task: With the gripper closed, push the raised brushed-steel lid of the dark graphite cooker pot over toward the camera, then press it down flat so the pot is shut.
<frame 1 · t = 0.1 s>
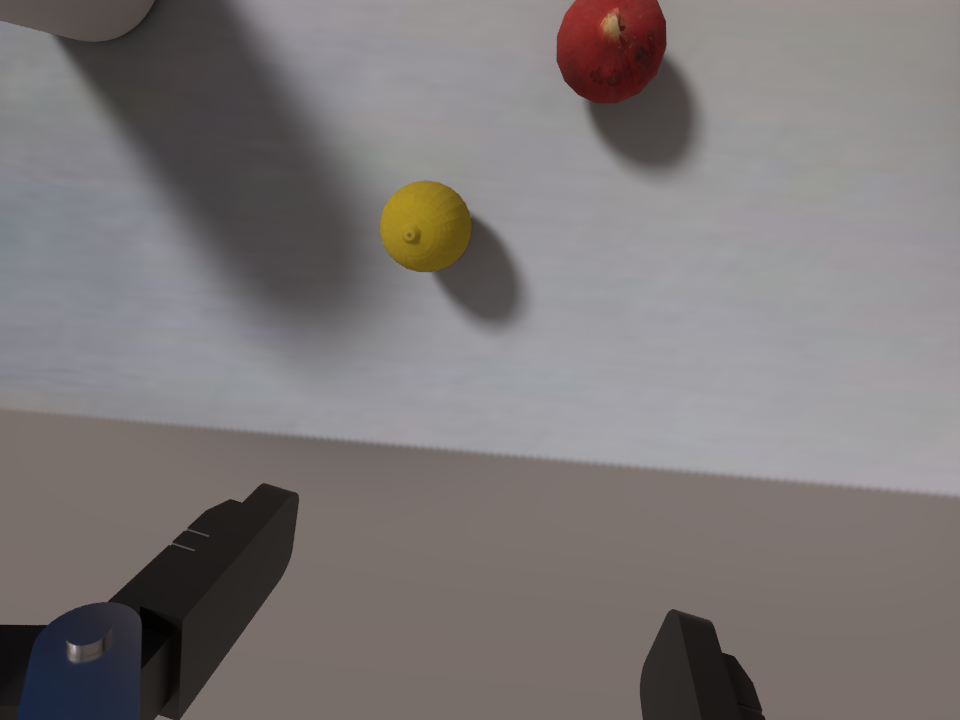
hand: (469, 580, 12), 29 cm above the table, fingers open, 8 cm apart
pomegranate: (606, 57, 34), on the table
lemon: (442, 221, 39), on the table
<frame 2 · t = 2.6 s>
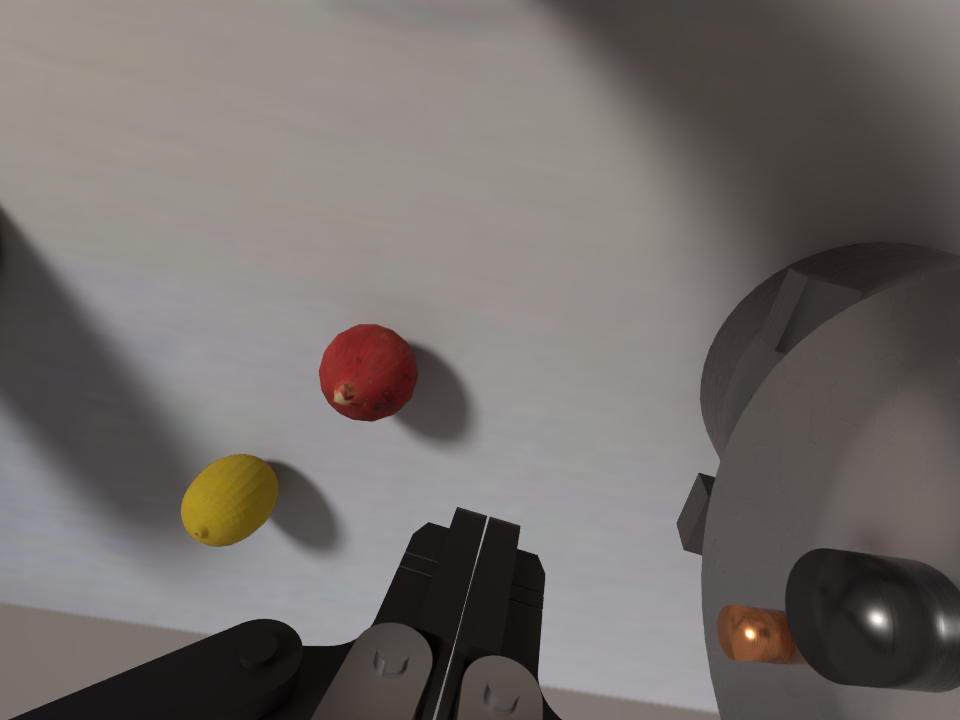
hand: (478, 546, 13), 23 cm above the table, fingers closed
pomegranate: (389, 352, 37), on the table
lemon: (264, 467, 42), on the table
cooker lid: (898, 620, 14), point 21 cm above the table, hinge at 75.0°
cooker pot: (851, 387, 33), on the table
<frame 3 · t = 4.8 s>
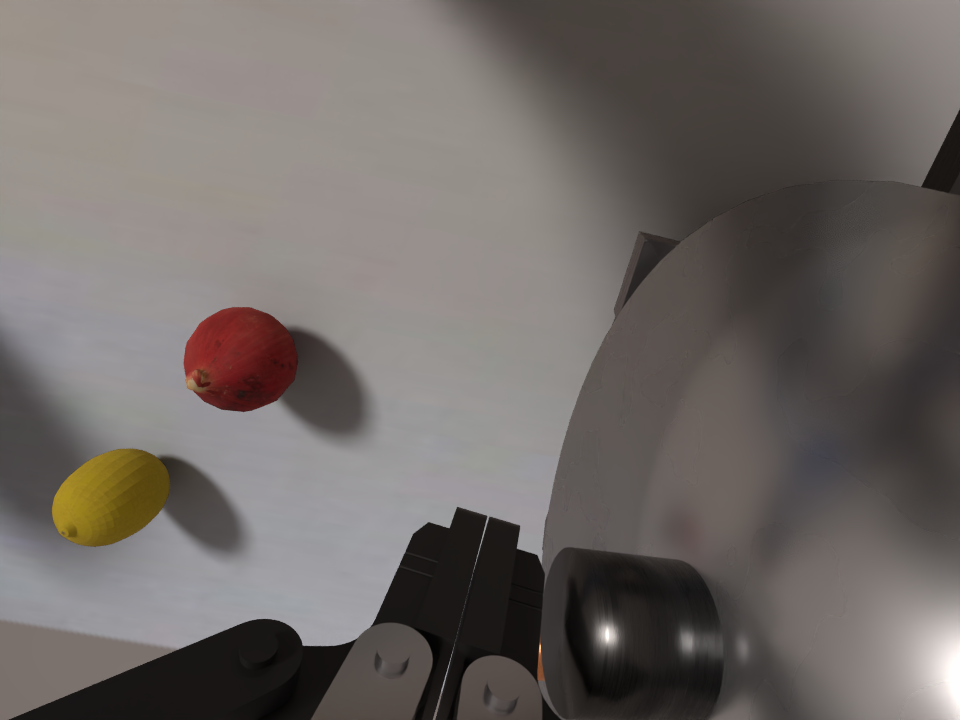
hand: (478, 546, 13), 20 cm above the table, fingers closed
pomegranate: (278, 339, 35), on the table
lemon: (161, 462, 40), on the table
cooker lid: (657, 636, 11), point 21 cm above the table, hinge at 74.3°, touching gripper
cooker pot: (761, 373, 30), on the table
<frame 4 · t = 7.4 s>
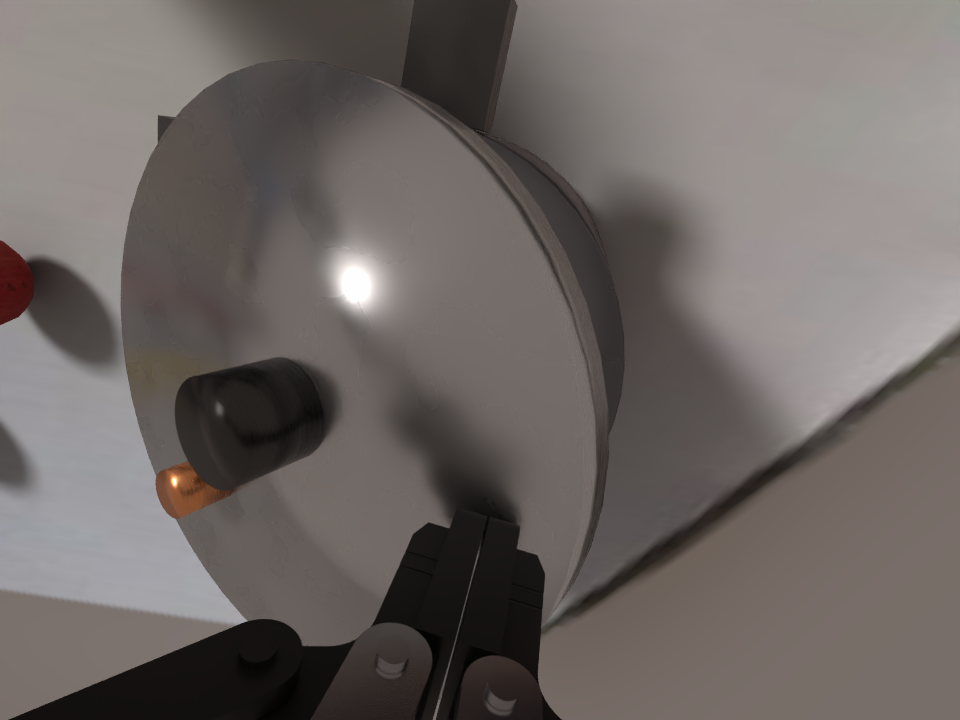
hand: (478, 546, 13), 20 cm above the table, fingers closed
pomegranate: (30, 269, 36), on the table
cooker lid: (274, 412, 15), point 18 cm above the table, hinge at 23.1°
cooker pot: (456, 291, 32), on the table
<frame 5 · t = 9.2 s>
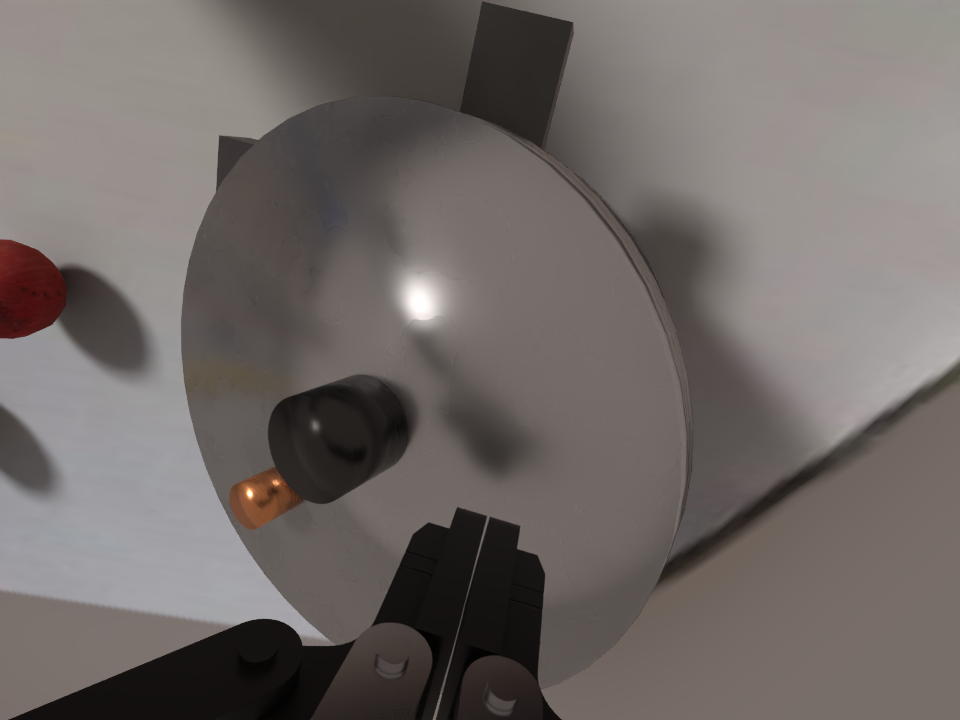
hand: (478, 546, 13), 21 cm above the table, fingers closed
pomegranate: (61, 277, 37), on the table
cooker lid: (357, 427, 16), point 17 cm above the table, hinge at 20.8°
cooker pot: (487, 303, 32), on the table
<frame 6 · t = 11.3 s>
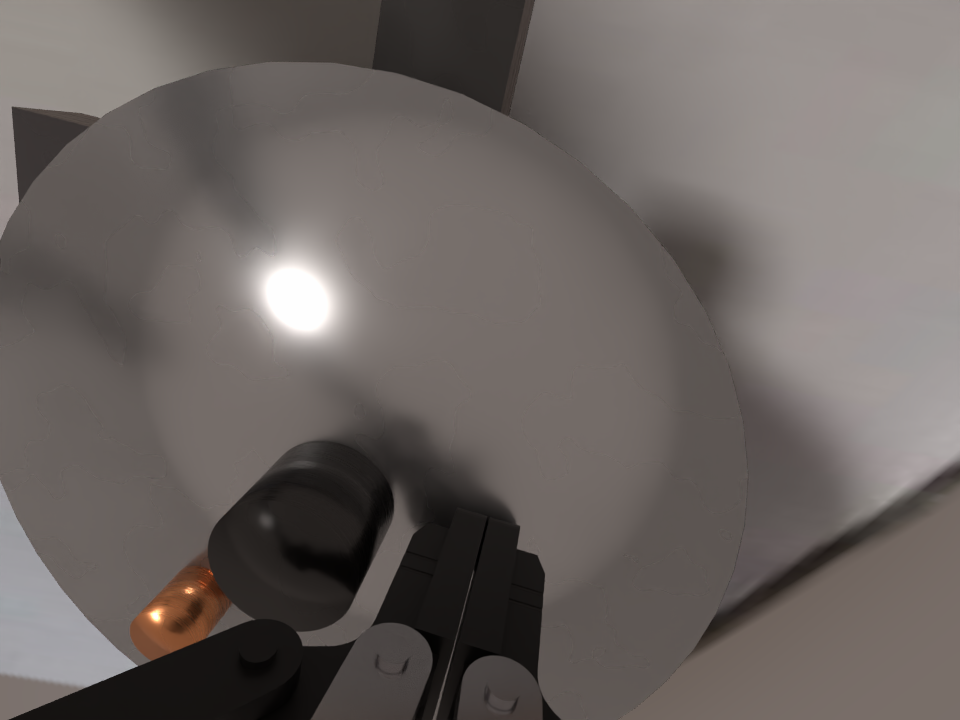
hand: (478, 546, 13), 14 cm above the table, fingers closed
cooker lid: (323, 510, 12), point 14 cm above the table, hinge at 0.0°, touching gripper
cooker pot: (450, 329, 26), on the table
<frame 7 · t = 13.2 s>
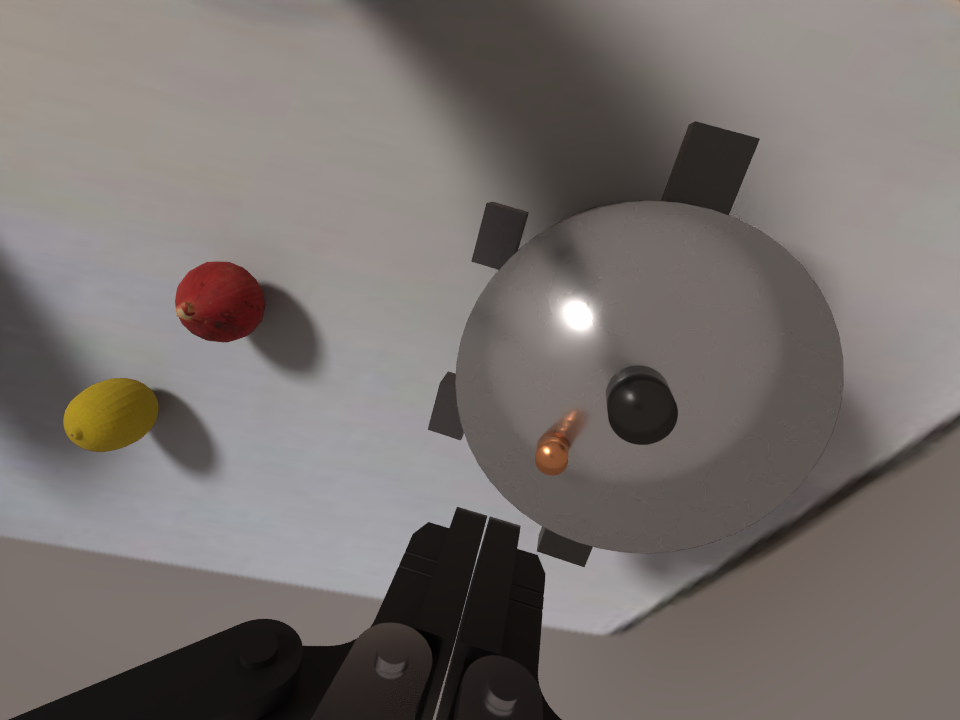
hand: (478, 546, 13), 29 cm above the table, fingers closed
pomegranate: (251, 292, 44), on the table
lemon: (152, 395, 49), on the table
cooker lid: (638, 398, 26), point 14 cm above the table, hinge at 0.0°
cooker pot: (618, 326, 40), on the table
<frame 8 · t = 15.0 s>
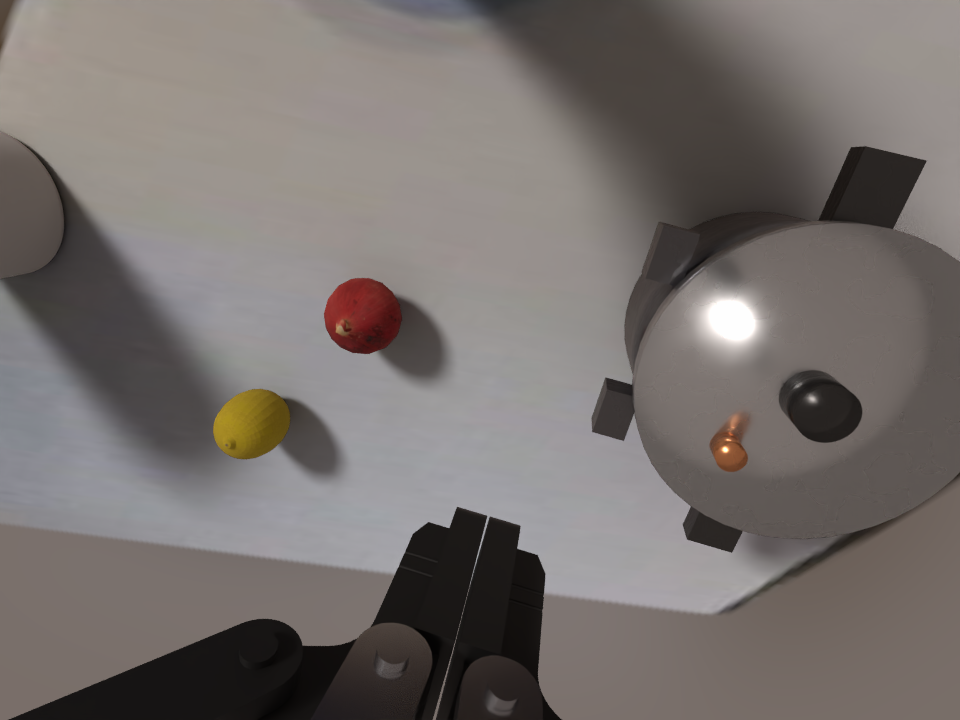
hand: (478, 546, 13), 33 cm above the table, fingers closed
pomegranate: (380, 304, 47), on the table
lemon: (278, 403, 52), on the table
cooker lid: (812, 399, 29), point 14 cm above the table, hinge at 0.0°
cooker pot: (739, 326, 42), on the table
cylinder vase: (8, 202, 49), on the table
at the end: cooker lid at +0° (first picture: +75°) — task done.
